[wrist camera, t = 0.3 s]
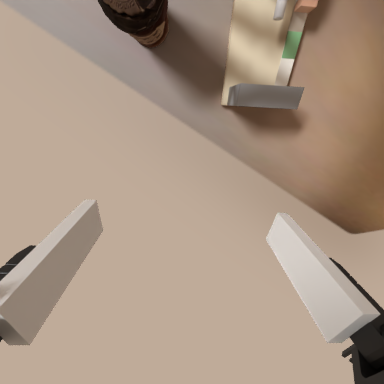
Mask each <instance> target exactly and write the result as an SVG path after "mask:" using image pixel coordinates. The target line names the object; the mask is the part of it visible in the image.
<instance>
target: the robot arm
mask: <svg viewBox="0 0 384 384" xmlns="http://www.w3.org/2000/svg"><path fill="white" fill-rule="evenodd" d="M102 231H103V228H102V223H101V219H100V214H99V209H98V205H97V201H96V200H84V201H83V202H82V203H81V204H80V205H79V206H78V207H77V208H75V209H74V210H73V212H71V213H70V214H69V215H68V216H67V217H66V218H65V219H64V220H63V221H62V222H61V223H60V224H59V225H58V226H57V227H56V228H55V229H54V230H53V231H52V232H51V233H50V234H49V235H48V236H47V237H46V238H45V239H44V240H42V241H41V242H40V243H39V244H38V245H37V246H32V245H31V246H29V247H27V248H25V249H24V250H22V251H20V252H19V253H17V254H16V255H15V256H14V257H13V258H11V259H10V260H9V261H8V262H7V263H6V265H5V266H2V267H1V268H0V342H1V340H2V339H3V340H4V341H5V342H6V343H7V344H9V345H30V344H31V342H32V341H33V339H34V338H35V336H36V335H37V333H38V331H39V330H40V328H41V327H42V325H43V324H44V322H45V320H46V319H47V317H48V316H49V314H50V313H51V311H52V309H53V308H54V306H55V305H56V303H57V302H58V300H59V299H60V297H61V295H62V294H63V292H64V291H65V289H66V288H67V286H68V284H69V283H70V281H71V280H72V278H73V277H74V275H75V274H76V272H77V270H78V269H79V267H80V266H81V264H82V262H83V261H84V260H85V258H86V256H87V255H88V253H89V252H90V250H91V248H92V247H93V245H94V244H95V242H96V241H97V239H98V237H99V236H100V234H101V233H102ZM266 240H267V242H268V244H269V245H270V247H271V249H272V250H273V252H274V254H275V256H276V257H277V259H278V260H279V262H280V264H281V265H282V267H283V269H284V271H285V272H286V274H287V276H288V278H289V279H290V281H291V283H292V284H293V286H294V288H295V289H296V291H297V293H298V294H299V296H300V298H301V299H302V301H303V303H304V304H305V306H306V308H307V309H308V311H309V313H310V315H311V316H312V318H313V320H314V321H315V323H316V325H317V326H318V328H319V330H320V331H321V333H322V335H323V337H324V338H325V340H326V342H327V343H342V342H343V341H345V340H346V339H347V338H349V337H350V338H351V340H352V341H353V343H354V344H353V345H352V346H350V347H349V348H347V349H346V350H344V351H343V352H342V356H343V357H344V358H345V357H347V356H348V355H350V354H352V358H350V360H349V361H350V362H351V363H353V372H354V381H355V384H384V310H383V309H382V308H381V307H380V306H379V305H378V303H377V302H376V301H375V300H374V299H372V297H371V296H370V295H369V294H368V293H367V292H366V291H365V290H364V289H363V288H362V287H361V286H360V285H359V284H357V282H356V281H355V280H354V278H353V277H352V276H350V274H349V273H348V272H347V271H346V270H345V269H344V268H343V267H342V266H341V265H340V264H338V263H337V262H336V261H334V260H333V259H332V258H328V257H327V256H326V255H325V253H324V252H323V251H322V250H321V249H320V248H319V247H318V246H317V245H316V244H315V243H314V242H313V240H311V238H310V237H309V236H308V235H307V234H306V233H305V232H304V231H303V230H302V229H301V227H300V226H299V225H298V224H297V223H296V222H295V221H294V220H293V219H292V218H291V217H290V216H289V214H287V213H277V215H276V218H275V220H274V222H273V224H272V226H271V229H270V231H269V233H268V235H267V237H266Z"/></svg>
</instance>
